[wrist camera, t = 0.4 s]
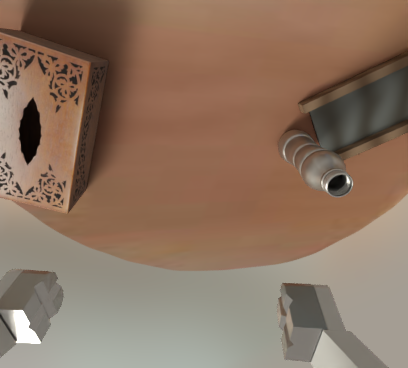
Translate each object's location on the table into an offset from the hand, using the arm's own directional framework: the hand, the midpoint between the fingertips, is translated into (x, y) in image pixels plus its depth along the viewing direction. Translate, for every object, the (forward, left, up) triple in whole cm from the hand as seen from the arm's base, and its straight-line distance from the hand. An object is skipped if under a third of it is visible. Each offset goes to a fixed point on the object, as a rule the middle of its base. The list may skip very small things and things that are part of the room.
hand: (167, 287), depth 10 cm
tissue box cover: (+1, -24, -47) cm, 52 cm away
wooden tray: (+5, +34, -46) cm, 57 cm away
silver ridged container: (+10, +20, -46) cm, 51 cm away
